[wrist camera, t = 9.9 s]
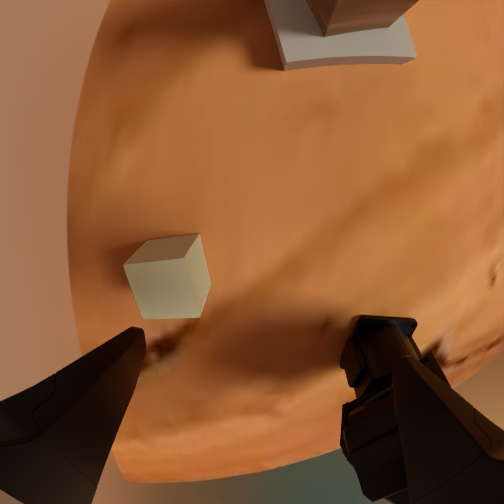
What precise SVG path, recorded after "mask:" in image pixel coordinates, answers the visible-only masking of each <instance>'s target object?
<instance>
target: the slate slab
mask: <svg viewBox="0 0 504 504" xmlns="http://www.w3.org/2000/svg"><path fill="white" fill-rule="evenodd" d="M264 3H265V6H266V9H267V12H268V16H269V19H270V22H271V25H272V29H273V32H274V36H275V39H276V43H277V46H278V50H279V54H280V57H281V61H282V65H283V69H284V71H287V70H294V69H302V68H310V67H320V66H331V65H346V64H403V63H406V62H408V61H411V60H413V59H415V58H417V55H416V51H415V48H414V45H413V41H412V38H411V35H410V32H409V29H408V26H407V23H406V21H405V18H404V15H402V16H401V17H400V18H398V19H397V20H396V21H395V22H394V23H393V24H392V25H391V26H390V27H389V28H380V29H371V30H364V31H357V32H350V33H344V34H339V35H333V36H328V37H324V35H323V33H322V31H321V29H320V27H319V25H318V23H317V21H316V19H315V17H314V15H313V13H312V11H311V9H310V7H309V5H308V3H307V1H306V0H264Z"/></svg>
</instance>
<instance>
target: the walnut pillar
mask: <svg viewBox="0 0 504 504" xmlns="http://www.w3.org/2000/svg"><path fill="white" fill-rule="evenodd" d="M306 1H307V3H308V5H309V7H310V9H311V11H312V13H313V15H314V17H315V19H316V21H317V23H318V25H319V27H320V29H321V31H322V33H323V35H324V37H328V36H333V35H339V34H344V33H350V32H357V31H364V30H371V29H380V28H389V27H390V26H391V25H392V24H393V23H394V22H395V21H396V20H397V19H398V18H400V17H401V16H402V15H403V14H404V13H405V12H406V11H407V10H408V9H410V8H411V7H412V6H413V5H414V4H415V3H416V2H417V1H419V0H306Z"/></svg>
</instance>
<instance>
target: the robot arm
mask: <svg viewBox="0 0 504 504" xmlns="http://www.w3.org/2000/svg"><path fill="white" fill-rule="evenodd" d="M363 321H365V322H363ZM362 322H363V323H362ZM416 327H417V321H416V320H415V319H407V318H389V317H373V316H362V317H360V318H359V319H358V321H357V323H356V326H355V328H354V331H353V333H352V336H350V337H349V339H348V341H347V344H346V346H345V348H344V351H343V353H342V355H341V357H342V359H341V361H340V368H341V369H345V373H346V377H347V381H348V385H349V386H350V388H354V390H355V394H356V398H357V399H355V400H353V401H351V402H347V403H345V404H343V406H342V423H341V438H340V446H341V448H342V452H343V454H344V455H345V457H346V458H347V460H348V461H349V463H350V464H351V465H352V466H353V467H354V469H355V471H356V473H357V476H358V479H359V482H360V485H361V489H362V492H363V494H364V495H365V496H366V497H367V498H368V499H369V500H371V501H372V502H374V501H377V500H380V499H385V500H387V501H389V502H391V503H393V504H504V431H503V430H502V429H501V428H499V427H498V426H497V425H495V424H494V423H493V422H491V421H490V420H489V419H487V418H486V417H485V416H484V415H483V414H481V413H480V412H479V411H478V410H477V409H475V408H473V406H472V405H471V404H470V403H468V402H467V401H466V400H465V399H464V398H463V397H461V396H460V395H459V394H458V393H457V392H455V391H454V390H453V389H452V388H451V386H450V384H449V382H448V380H447V378H446V376H445V375H444V373H443V371H442V369H441V367H440V365H439V364H438V362H437V360H436V358H435V357H434V355H433V353H432V351H431V350H430V351H429V352H428V353H426V355H425V356H424V357H423V356H422V354H421V353H420V351H419V349H418V347H417V345H416V343H415V342H414V340H413V338H412V334H413V333H414V331H415V329H416ZM145 354H146V341H145V334H144V330H143V329H142V328H138V327H130V328H128V329H126V330H125V331H123V332H121V333H120V334H118V335H117V336H115V337H113V338H112V339H110V340H108V341H107V342H105V343H104V344H102V345H100V346H99V347H97V348H95V349H94V350H92V351H90V352H89V353H87V354H86V355H84V356H82V357H81V358H79V359H78V360H76V361H74V362H73V363H71V364H69V365H68V366H66V367H64V368H63V369H62V370H59V371H58V372H56V374H53V375H51V376H49V377H48V378H46V379H44V380H43V381H41V382H39V383H38V384H36V385H34V386H32V387H30V388H28V389H26V390H24V391H22V392H20V393H17V394H15V395H13V396H11V397H9V398H7V399H5V400H2V401H0V504H92V501H93V498H94V495H95V492H96V489H97V485H98V482H99V480H100V477H101V474H102V471H103V468H104V466H105V463H106V460H107V457H108V455H109V452H110V450H111V447H112V445H113V442H114V440H115V437H116V434H117V432H118V429H119V427H120V424H121V422H122V419H123V417H124V414H125V412H126V410H127V407H128V405H129V402H130V400H131V398H132V395H133V393H134V390H135V387H136V384H137V380H138V377H139V374H140V370H141V367H142V363H143V360H144V357H145Z"/></svg>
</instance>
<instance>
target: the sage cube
mask: <svg viewBox="0 0 504 504" xmlns="http://www.w3.org/2000/svg"><path fill="white" fill-rule="evenodd" d="M123 267H124V270H125V273H126V275H127V278H128V281H129V284H130V287H131V289H132V292H133V295H134V297H135V300H136V303H137V305H138V308H139V310H140V313H141V315H142V318H143V319H175V318H198V317H200V316H201V313H202V310H203V307H204V304H205V302H206V299H207V296H208V293H209V290H210V287H211V281H210V277H209V273H208V269H207V264H206V260H205V256H204V251H203V247H202V242H201V238H200V233H198V234H190V235H183V236H176V237H168V238H161V239H154V240H147V241H146V242H145V243H144V244H143V245H142V246H141V247H140V248H139V249H138V250H137V251H136V252H135V253H134V254H133V255H132V256H131V257H130V258H129V259H128V260H127V261H126V262H125V263H124V264H123Z"/></svg>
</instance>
